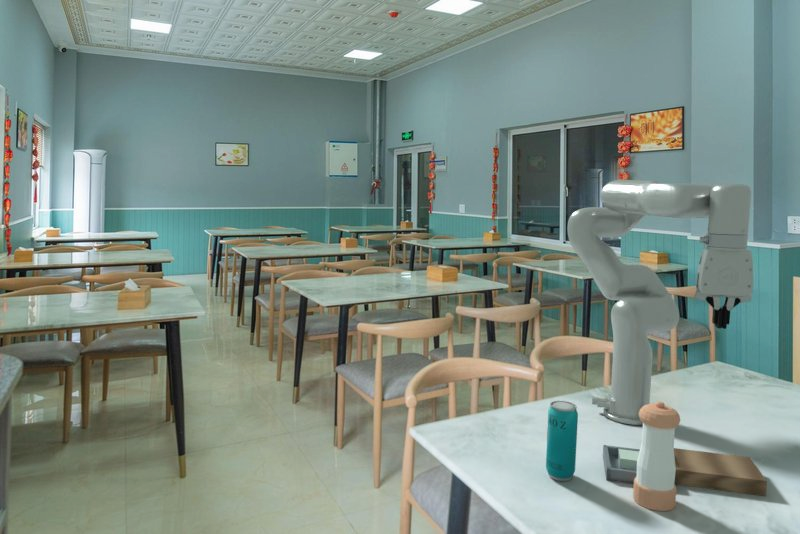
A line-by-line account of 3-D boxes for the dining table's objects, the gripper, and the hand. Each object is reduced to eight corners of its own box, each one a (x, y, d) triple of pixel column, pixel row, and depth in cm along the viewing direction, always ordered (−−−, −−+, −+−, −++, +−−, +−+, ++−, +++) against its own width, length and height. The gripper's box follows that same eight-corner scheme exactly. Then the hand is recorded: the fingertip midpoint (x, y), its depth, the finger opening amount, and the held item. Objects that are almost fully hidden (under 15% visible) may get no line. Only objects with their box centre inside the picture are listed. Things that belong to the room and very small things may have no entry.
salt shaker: (663, 491, 112) (669, 395, 110) (682, 511, 105) (690, 409, 103) (626, 491, 112) (632, 395, 110) (643, 511, 104) (649, 409, 102)
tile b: (645, 461, 119) (645, 471, 119) (643, 452, 124) (642, 460, 124) (620, 458, 120) (619, 467, 121) (618, 448, 125) (618, 457, 125)
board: (674, 483, 115) (675, 469, 115) (665, 460, 125) (666, 447, 125) (765, 496, 111) (767, 481, 110) (748, 470, 121) (749, 457, 121)
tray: (606, 480, 116) (607, 468, 116) (602, 455, 128) (603, 445, 127) (674, 489, 113) (675, 477, 112) (664, 463, 124) (665, 452, 124)
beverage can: (552, 467, 122) (555, 398, 120) (579, 475, 118) (582, 404, 116) (540, 476, 117) (543, 405, 115) (567, 485, 114) (571, 412, 112)
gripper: (691, 242, 121) (685, 328, 123) (772, 245, 117) (765, 333, 119) (684, 240, 128) (679, 321, 130) (760, 242, 124) (753, 326, 126)
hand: (720, 327), depth 125 cm, fingers closed
